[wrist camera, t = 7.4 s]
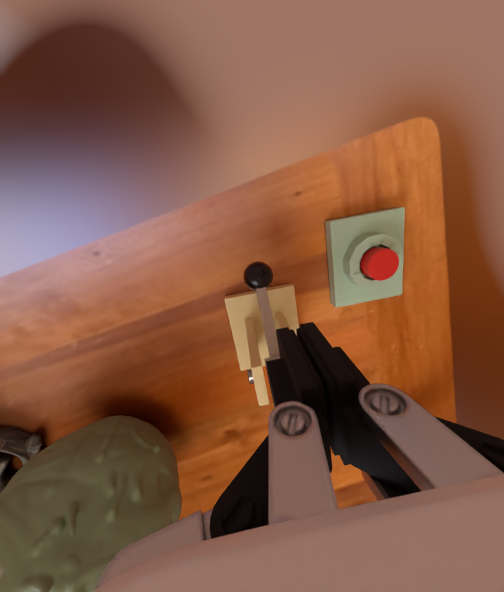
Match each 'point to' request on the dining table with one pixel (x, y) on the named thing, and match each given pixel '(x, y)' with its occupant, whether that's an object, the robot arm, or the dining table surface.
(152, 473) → the green rock
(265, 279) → the switch lever
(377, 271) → the console button
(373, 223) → the grey button base
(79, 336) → the dining table surface
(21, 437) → the grey toy shark
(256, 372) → the switch bracket
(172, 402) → the dining table surface
